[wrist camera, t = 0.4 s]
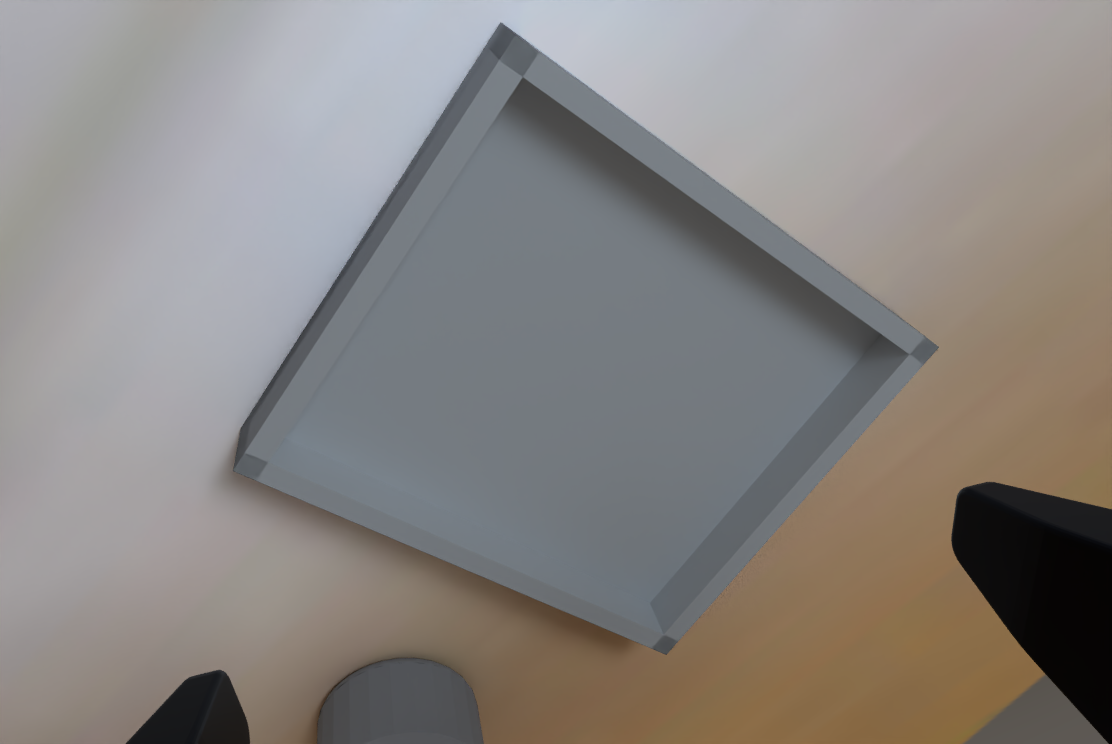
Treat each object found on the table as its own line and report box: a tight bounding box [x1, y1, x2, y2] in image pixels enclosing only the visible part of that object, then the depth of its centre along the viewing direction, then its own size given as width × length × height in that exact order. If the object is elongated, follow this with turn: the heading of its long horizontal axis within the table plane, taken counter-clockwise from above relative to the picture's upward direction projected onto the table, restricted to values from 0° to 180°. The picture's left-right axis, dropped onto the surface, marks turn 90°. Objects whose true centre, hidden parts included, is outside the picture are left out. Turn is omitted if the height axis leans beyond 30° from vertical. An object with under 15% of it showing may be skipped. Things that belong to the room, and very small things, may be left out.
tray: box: [233, 23, 939, 655], centre depth 24 cm, size 14×12×2 cm
